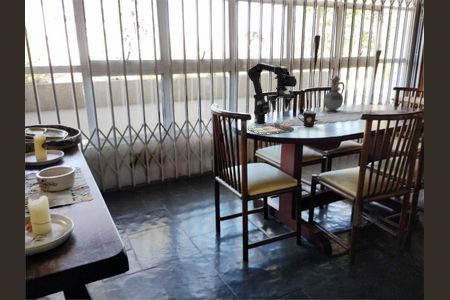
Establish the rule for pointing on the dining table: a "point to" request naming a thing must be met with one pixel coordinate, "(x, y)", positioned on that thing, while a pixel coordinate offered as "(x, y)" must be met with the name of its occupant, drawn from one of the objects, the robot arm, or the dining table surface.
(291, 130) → the button housing
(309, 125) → the coffee mug
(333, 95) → the pitcher
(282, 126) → the marker
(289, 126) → the button
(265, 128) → the colouring board
